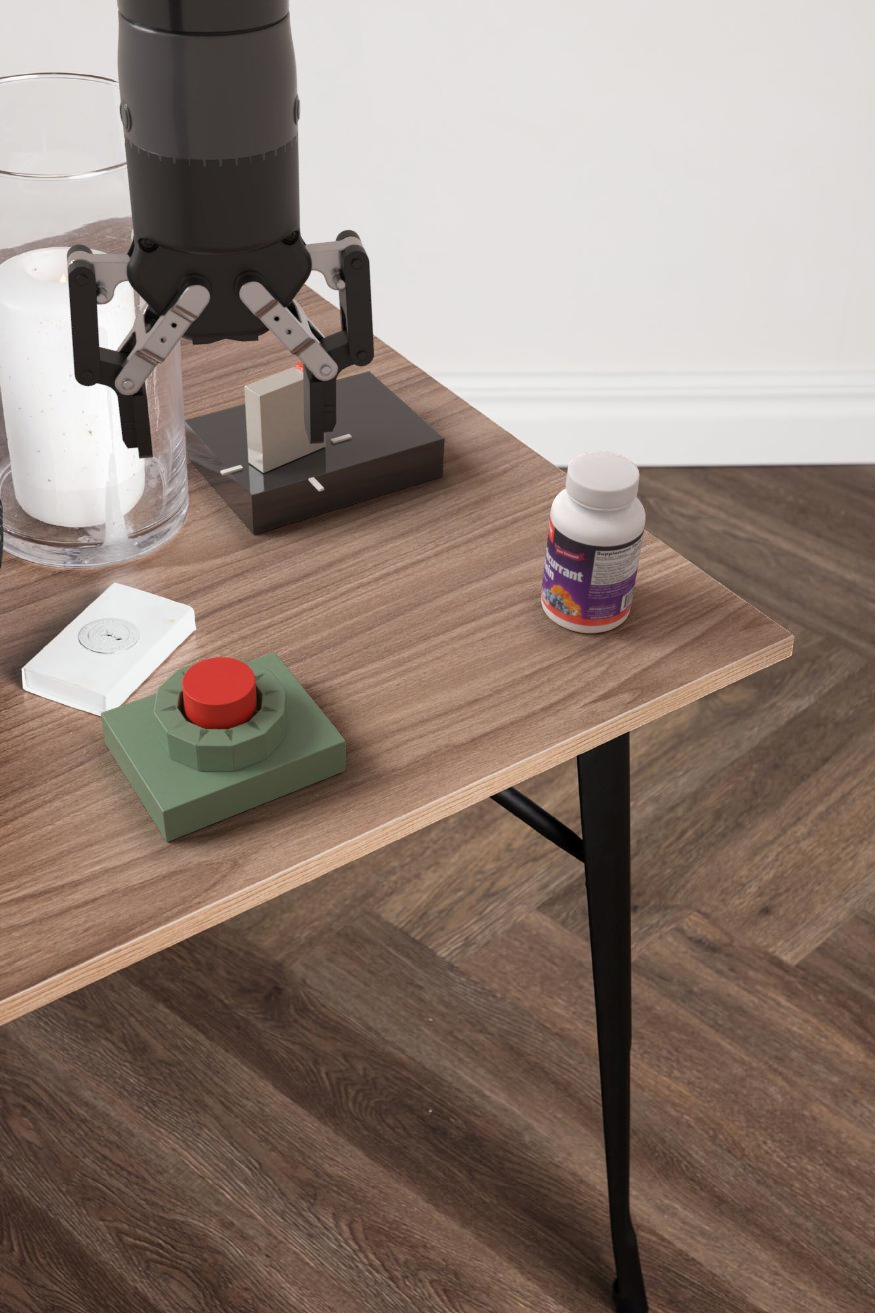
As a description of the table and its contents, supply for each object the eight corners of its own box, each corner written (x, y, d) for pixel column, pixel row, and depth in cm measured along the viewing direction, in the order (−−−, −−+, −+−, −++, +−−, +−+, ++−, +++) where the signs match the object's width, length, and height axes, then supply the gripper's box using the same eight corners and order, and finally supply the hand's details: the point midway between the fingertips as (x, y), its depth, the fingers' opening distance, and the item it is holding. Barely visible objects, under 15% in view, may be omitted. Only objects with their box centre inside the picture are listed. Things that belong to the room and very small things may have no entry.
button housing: (166, 843, 69) (159, 785, 66) (104, 743, 74) (95, 686, 72) (346, 771, 73) (346, 714, 71) (276, 681, 78) (273, 625, 76)
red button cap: (202, 740, 70) (200, 713, 68) (173, 696, 72) (170, 670, 71) (268, 715, 71) (267, 689, 70) (237, 674, 73) (235, 648, 72)
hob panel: (256, 551, 87) (254, 509, 85) (179, 460, 95) (175, 419, 93) (456, 488, 94) (458, 447, 92) (369, 408, 101) (369, 368, 99)
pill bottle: (524, 591, 85) (538, 454, 79) (601, 571, 87) (621, 435, 81) (567, 645, 82) (585, 506, 75) (647, 623, 84) (671, 485, 77)
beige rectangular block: (263, 473, 89) (259, 392, 85) (248, 462, 89) (243, 382, 86) (325, 446, 91) (324, 367, 87) (310, 436, 92) (308, 357, 88)
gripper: (357, 86, 65) (355, 396, 76) (40, 96, 63) (83, 416, 73) (389, 145, 60) (382, 471, 70) (42, 159, 57) (89, 496, 68)
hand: (230, 443), depth 72 cm, fingers open, 8 cm apart
